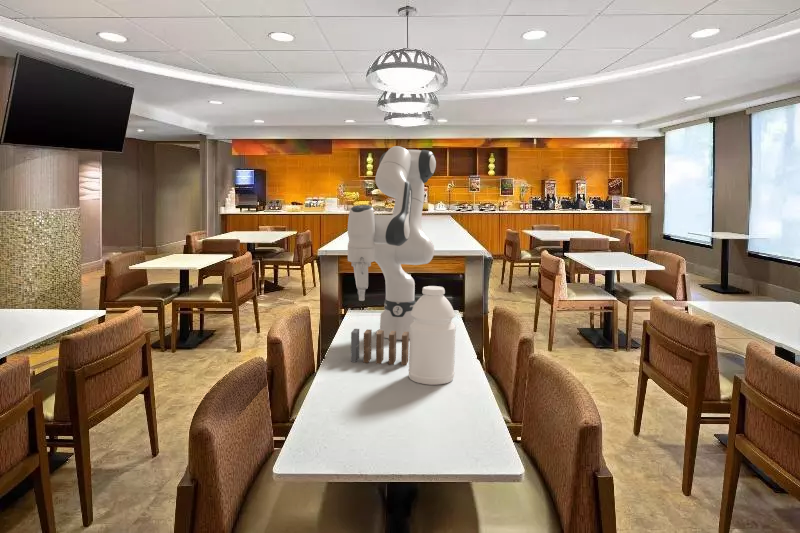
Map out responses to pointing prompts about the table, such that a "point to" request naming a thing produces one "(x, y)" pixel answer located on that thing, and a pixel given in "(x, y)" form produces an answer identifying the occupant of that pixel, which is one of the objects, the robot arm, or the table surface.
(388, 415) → the table surface
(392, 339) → the domino
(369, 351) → the domino
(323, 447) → the table surface
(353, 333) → the end domino
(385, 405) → the table surface
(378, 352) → the domino
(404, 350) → the domino
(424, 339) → the bottle
